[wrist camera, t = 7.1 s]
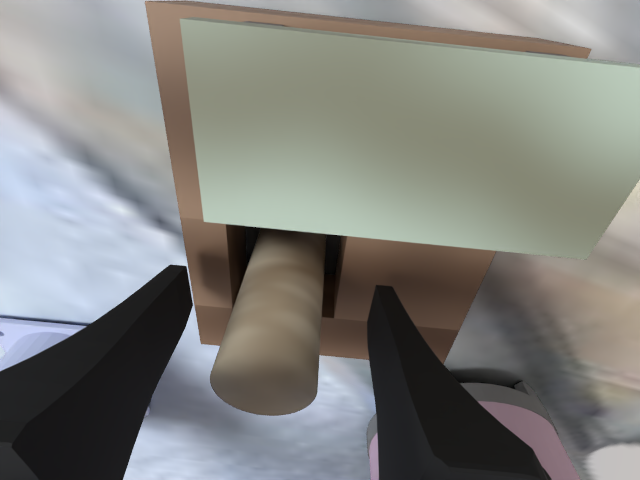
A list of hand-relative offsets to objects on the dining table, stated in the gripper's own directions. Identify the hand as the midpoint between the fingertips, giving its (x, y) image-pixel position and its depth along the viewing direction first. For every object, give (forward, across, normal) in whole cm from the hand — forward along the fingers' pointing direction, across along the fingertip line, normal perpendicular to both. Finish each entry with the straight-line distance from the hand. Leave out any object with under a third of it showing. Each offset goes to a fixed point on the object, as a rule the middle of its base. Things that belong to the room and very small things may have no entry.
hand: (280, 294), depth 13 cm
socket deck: (+4, -2, -2) cm, 5 cm away
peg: (+4, 0, 0) cm, 4 cm away
